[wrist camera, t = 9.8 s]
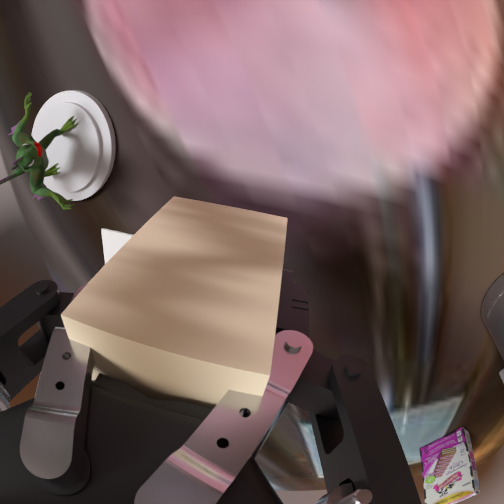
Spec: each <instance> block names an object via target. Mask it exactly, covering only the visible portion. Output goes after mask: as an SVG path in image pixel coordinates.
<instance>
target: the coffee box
mask: <svg viewBox="0 0 504 504" xmlns="http://www.w3.org/2000/svg"><path fill="white" fill-rule="evenodd" d="M499 375H500V378H501V380H502V382H503V385H504V369H503V370H501V371H500V372H499Z"/></svg>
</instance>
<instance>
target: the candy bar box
mask: <svg viewBox="0 0 504 504" xmlns="http://www.w3.org/2000/svg"><path fill="white" fill-rule="evenodd" d="M420 456H421V464H422V474H423V483H424V495H425V504H455V503H457V502H460V501H462V500H464V499H467V498H469V497H472V496H474V495H476V494H478V493H480V487H479V482H478V475H477V469H476V464H475V459H474V454H473V449H472V445H471V440H470V436H469V432H468V430H466V429H465V428H464V427H461V428H459V429H457V430H455V431H454V432H452V433H450V434H448V435H446V436H444V437H442V438H440V439H438V440H436V441H434V442H432V443H430V444H428V445H426V446H424V447H421V448H420Z"/></svg>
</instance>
